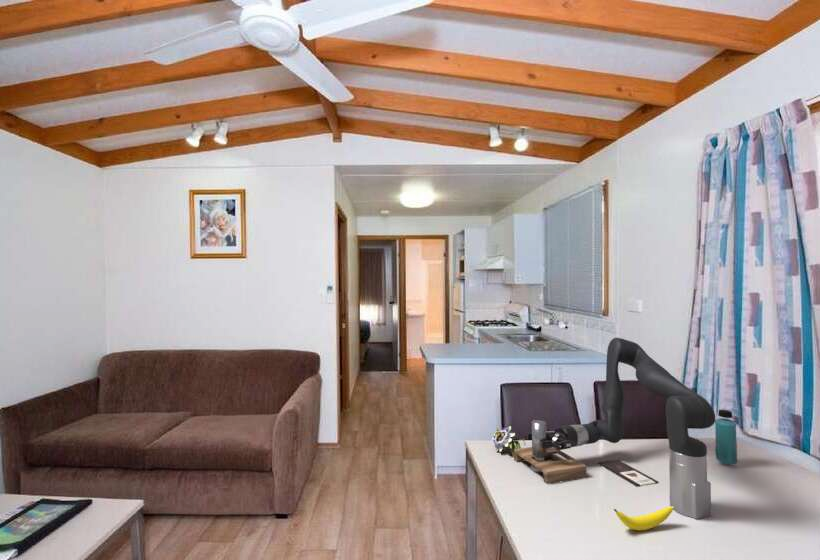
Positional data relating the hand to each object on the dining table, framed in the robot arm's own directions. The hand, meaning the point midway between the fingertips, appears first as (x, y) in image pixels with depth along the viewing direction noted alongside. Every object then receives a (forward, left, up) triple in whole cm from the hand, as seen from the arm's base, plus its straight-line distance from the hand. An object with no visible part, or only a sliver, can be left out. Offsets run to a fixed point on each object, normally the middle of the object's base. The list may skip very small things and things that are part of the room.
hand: (534, 441), depth 147 cm
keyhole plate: (0, -6, -10) cm, 12 cm away
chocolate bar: (-12, -30, -11) cm, 34 cm away
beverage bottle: (-18, -70, -11) cm, 73 cm away
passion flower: (+18, 0, -11) cm, 21 cm away
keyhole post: (0, -2, -10) cm, 11 cm away
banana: (-39, -8, -11) cm, 42 cm away
